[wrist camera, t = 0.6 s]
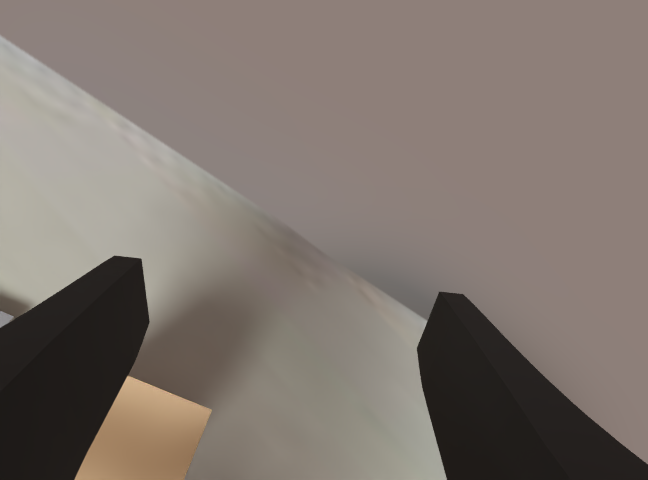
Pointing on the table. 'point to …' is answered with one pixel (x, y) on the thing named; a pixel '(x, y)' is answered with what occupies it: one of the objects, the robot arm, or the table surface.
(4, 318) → the plate
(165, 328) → the table surface
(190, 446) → the tan block
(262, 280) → the table surface
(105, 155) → the table surface
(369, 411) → the table surface
